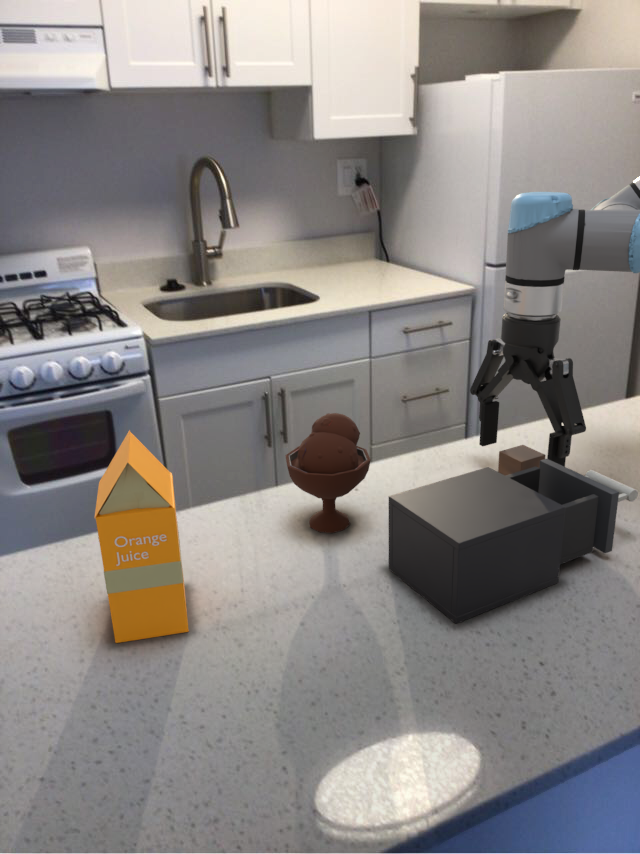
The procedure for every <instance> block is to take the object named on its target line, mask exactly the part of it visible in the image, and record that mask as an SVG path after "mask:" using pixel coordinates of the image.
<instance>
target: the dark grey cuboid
mask: <svg viewBox="0 0 640 854" xmlns="http://www.w3.org/2000/svg"><path fill="white" fill-rule="evenodd" d="M564 517H565V506H563V505H561V504H559V503H557V502H555V501H553V500H551V499H549V498H547V497H545V496H543V495H541V494H539V493H538V492H536V491H534V490H532V489H530V488H528V487H526V486H524V485H522V484H520V483H518V482H516V481H514V480H512V479H511V478H509V477H507V476H505V475H503V474H501V473H499V472H498V470H496V469H493V468H491V467H490V466H486V467H482V468H479V469H476V470H473V471H470V472H466V473H463V474H458V475H456V476H455V475H454V476H452V477H449V478H445V479H442V480H438V481H435V482H432V483H428V484H425V485H421V486H418V487H414V488H411V489H407V490H404V491H401V492H398V493H395V494H391V495H388V569H389V571H391V572H392V573H393V574H395V575H396V576H397V577H398V578H399V579H401V580H402V581H403V582H404V583H405V584H407V585H408V586H409V587H411V588H412V589H413V590H415V592H417V593H418V594H419V595H420V596H421V597H423V598H424V599H425V600H426V601H428V602H429V603H430V604H431V605H432V606H434V607H435V608H436V609H437V610H439V612H441V614H442V613H443V614H444V615H445V616H446V617H447V618H448V619H450V620H451V621H452V622H453V623H455V624H459V623H461V622H464V621H466V620H468V619H470V618H473V617H476V616H478V615H481V614H483V613H486V612H488V611H490V610H493V609H494V610H495V609H496V608H499V607H501V606H503V605H506V604H508V603H511V602H514V601H516V600H519V599H521V598H523V597H526V596H528V595H530V594H533V593H536V592H538V591H540V590H543V589H545V588H548V587H551V586H553V585H555V584H558V583H559V579H560V571H561V570H560V568H561V564H560V559H561V549H562V538H563V527H564Z"/></svg>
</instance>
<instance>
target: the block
mask: <svg viewBox="0 0 640 854" xmlns="http://www.w3.org/2000/svg"><path fill="white" fill-rule="evenodd" d="M546 457H547V456H546V454H545V453H543V452H540V451H538V450H536V449H534V448H531V447H529V446H527V445H525V444H520V445H517V446H513V447H509V448H506V449H503V450H500V451H498V465H497V472H499V473H501V474H503V475H505V476H506V475H509V474H512V473H516V472H519V471H522V470H526V469H529V468H532V467H535V466H536V467H538V468H539V466H540V460H544V459H546Z"/></svg>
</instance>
